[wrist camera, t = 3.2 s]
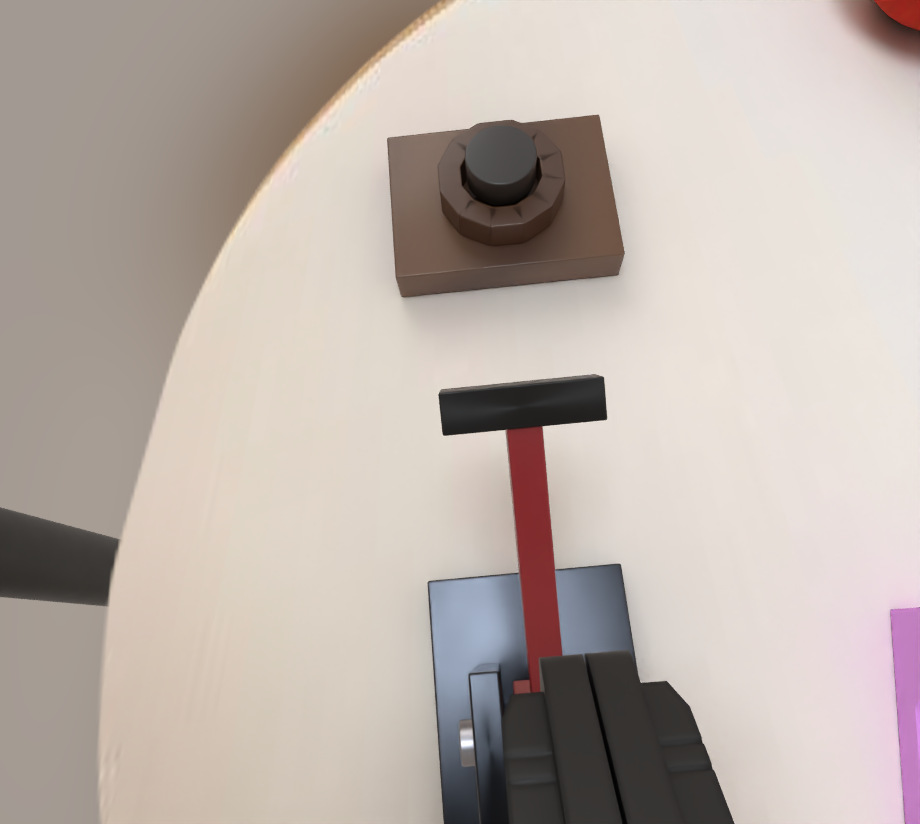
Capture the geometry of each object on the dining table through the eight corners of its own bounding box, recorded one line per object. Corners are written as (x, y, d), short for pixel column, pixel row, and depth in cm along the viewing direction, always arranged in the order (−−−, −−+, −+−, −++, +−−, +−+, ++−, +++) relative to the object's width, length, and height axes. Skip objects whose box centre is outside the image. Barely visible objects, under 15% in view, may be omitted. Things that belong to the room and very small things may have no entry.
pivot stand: (429, 583, 33) (397, 557, 23) (616, 566, 33) (668, 532, 23) (449, 870, 29) (421, 993, 19) (661, 854, 29) (747, 969, 19)
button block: (401, 297, 38) (390, 259, 34) (392, 162, 41) (381, 114, 37) (618, 275, 38) (631, 234, 34) (594, 140, 41) (603, 89, 37)
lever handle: (440, 388, 23) (437, 394, 20) (593, 373, 22) (608, 377, 20) (479, 759, 24) (480, 805, 22) (622, 747, 24) (639, 792, 22)
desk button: (469, 209, 36) (468, 188, 34) (463, 151, 37) (461, 128, 35) (539, 202, 35) (541, 180, 34) (531, 144, 37) (532, 121, 35)
